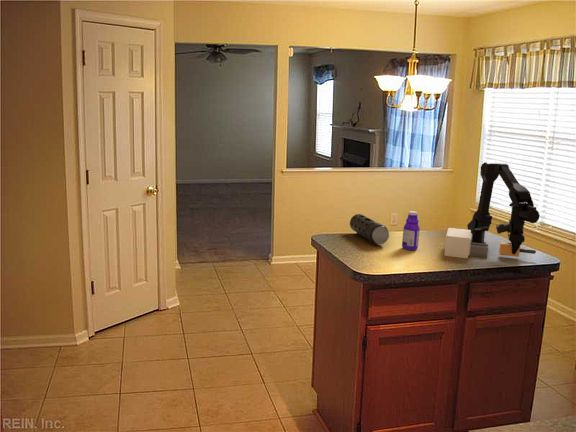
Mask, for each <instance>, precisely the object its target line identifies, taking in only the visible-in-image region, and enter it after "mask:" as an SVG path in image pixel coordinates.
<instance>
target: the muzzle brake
mask: <svg viewBox="0 0 576 432" xmlns="http://www.w3.org/2000/svg"><path fill="white" fill-rule="evenodd" d="M349 226H350V228H351V230H352V231H354V232H356V234H357V235H358V236H360V237H362V238H365V240H367V241H369V242H370V243H371V244H373V245H384V244H385V243H387V241H388V240H389V237H390V233H389V230H388V228H387V227H386V225H384V224H382V223H378V222H377V221H375V220H373V219H371V218H369V217H367V216H366V215H364V214H361V213H357V214H354V215H353V216H352V217H351V219H350V221H349Z"/></svg>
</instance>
